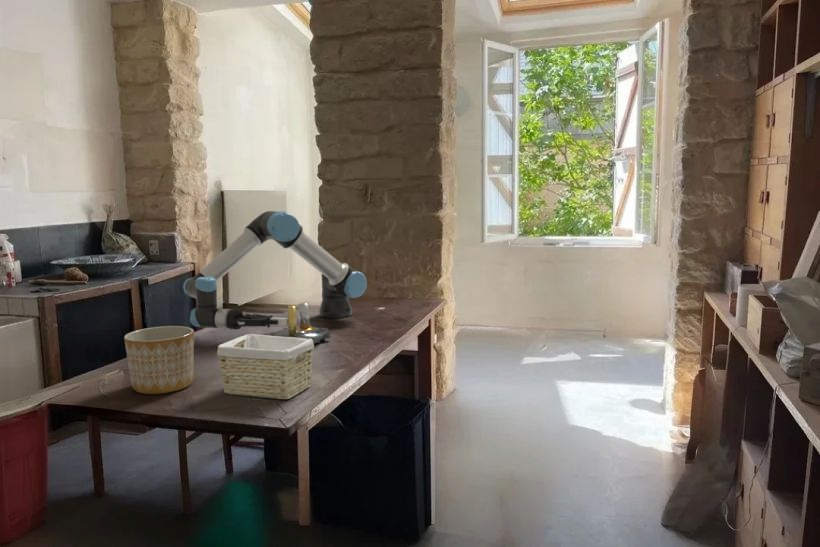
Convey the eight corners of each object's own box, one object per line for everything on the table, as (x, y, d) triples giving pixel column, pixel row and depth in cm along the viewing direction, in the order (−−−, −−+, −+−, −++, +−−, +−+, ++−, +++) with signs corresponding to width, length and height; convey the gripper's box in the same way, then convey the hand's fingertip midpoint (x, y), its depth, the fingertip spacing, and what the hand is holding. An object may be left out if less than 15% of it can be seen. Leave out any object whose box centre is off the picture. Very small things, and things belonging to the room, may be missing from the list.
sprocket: (311, 327, 257) (309, 294, 256) (342, 337, 240) (341, 302, 238) (259, 337, 243) (257, 302, 241) (289, 348, 225) (287, 310, 223)
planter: (195, 393, 181) (192, 337, 179) (123, 400, 176) (119, 343, 174) (198, 374, 200) (195, 324, 197) (133, 380, 194) (129, 328, 192)
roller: (306, 326, 250) (305, 302, 249) (311, 328, 247) (310, 303, 246) (297, 328, 248) (296, 303, 246) (302, 329, 245) (301, 304, 243)
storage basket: (216, 394, 180) (213, 345, 178) (249, 378, 195) (247, 332, 193) (288, 403, 172) (286, 351, 170) (317, 385, 187) (315, 337, 185)
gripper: (238, 325, 244) (294, 328, 239) (221, 332, 232) (279, 335, 226) (238, 306, 243) (294, 309, 238) (220, 312, 231) (279, 315, 225)
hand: (287, 322), depth 232 cm, fingers closed
